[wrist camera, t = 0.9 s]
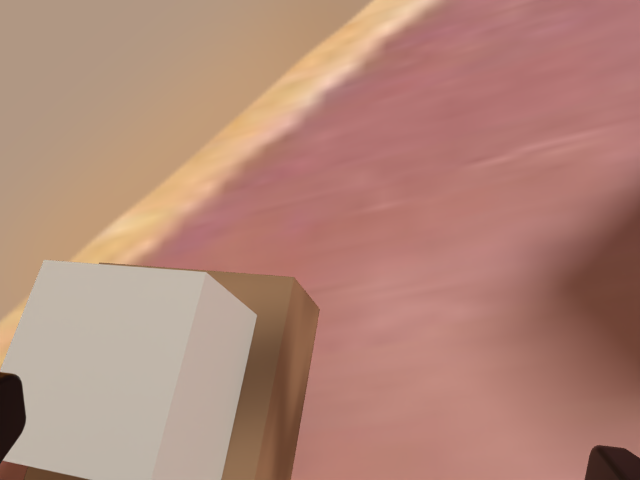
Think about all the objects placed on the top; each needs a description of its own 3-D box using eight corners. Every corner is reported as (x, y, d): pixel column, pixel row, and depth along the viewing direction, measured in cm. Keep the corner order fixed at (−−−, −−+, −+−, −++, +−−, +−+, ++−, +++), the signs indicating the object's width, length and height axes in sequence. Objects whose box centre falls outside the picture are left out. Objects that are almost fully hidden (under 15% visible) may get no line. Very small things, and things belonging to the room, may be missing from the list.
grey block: (218, 492, 16) (147, 491, 12) (67, 460, 17) (-33, 453, 14) (257, 314, 18) (205, 272, 14) (119, 301, 20) (44, 259, 16)
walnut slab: (285, 529, 19) (242, 538, 15) (95, 487, 21) (20, 487, 17) (321, 311, 22) (293, 277, 18) (152, 295, 24) (99, 262, 21)
